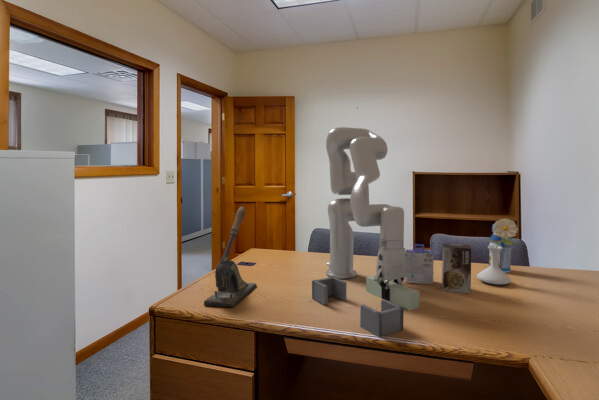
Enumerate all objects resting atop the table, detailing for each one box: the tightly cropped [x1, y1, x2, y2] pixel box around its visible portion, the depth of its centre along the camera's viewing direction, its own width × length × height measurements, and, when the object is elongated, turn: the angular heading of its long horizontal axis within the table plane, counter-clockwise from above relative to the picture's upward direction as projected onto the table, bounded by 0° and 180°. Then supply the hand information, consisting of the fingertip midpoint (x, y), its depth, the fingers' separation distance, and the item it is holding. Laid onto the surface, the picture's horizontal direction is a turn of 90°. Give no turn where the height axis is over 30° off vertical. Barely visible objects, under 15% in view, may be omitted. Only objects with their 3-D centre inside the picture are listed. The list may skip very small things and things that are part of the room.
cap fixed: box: [359, 299, 405, 338], centre depth 94 cm, size 7×9×6 cm
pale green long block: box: [365, 274, 420, 311], centre depth 116 cm, size 20×4×6 cm, turn 30°
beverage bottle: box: [488, 223, 513, 274], centre depth 149 cm, size 8×8×20 cm
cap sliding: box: [311, 276, 347, 306], centre depth 115 cm, size 7×9×6 cm
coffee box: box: [441, 243, 472, 294], centre depth 124 cm, size 9×6×16 cm
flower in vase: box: [476, 218, 519, 286], centre depth 132 cm, size 13×11×25 cm
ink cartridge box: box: [405, 243, 435, 285], centre depth 134 cm, size 10×6×14 cm, turn 78°
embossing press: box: [203, 205, 257, 308], centre depth 119 cm, size 11×24×30 cm, turn 165°
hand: (390, 297), depth 116 cm, fingers closed on pale green long block, 4 cm apart
